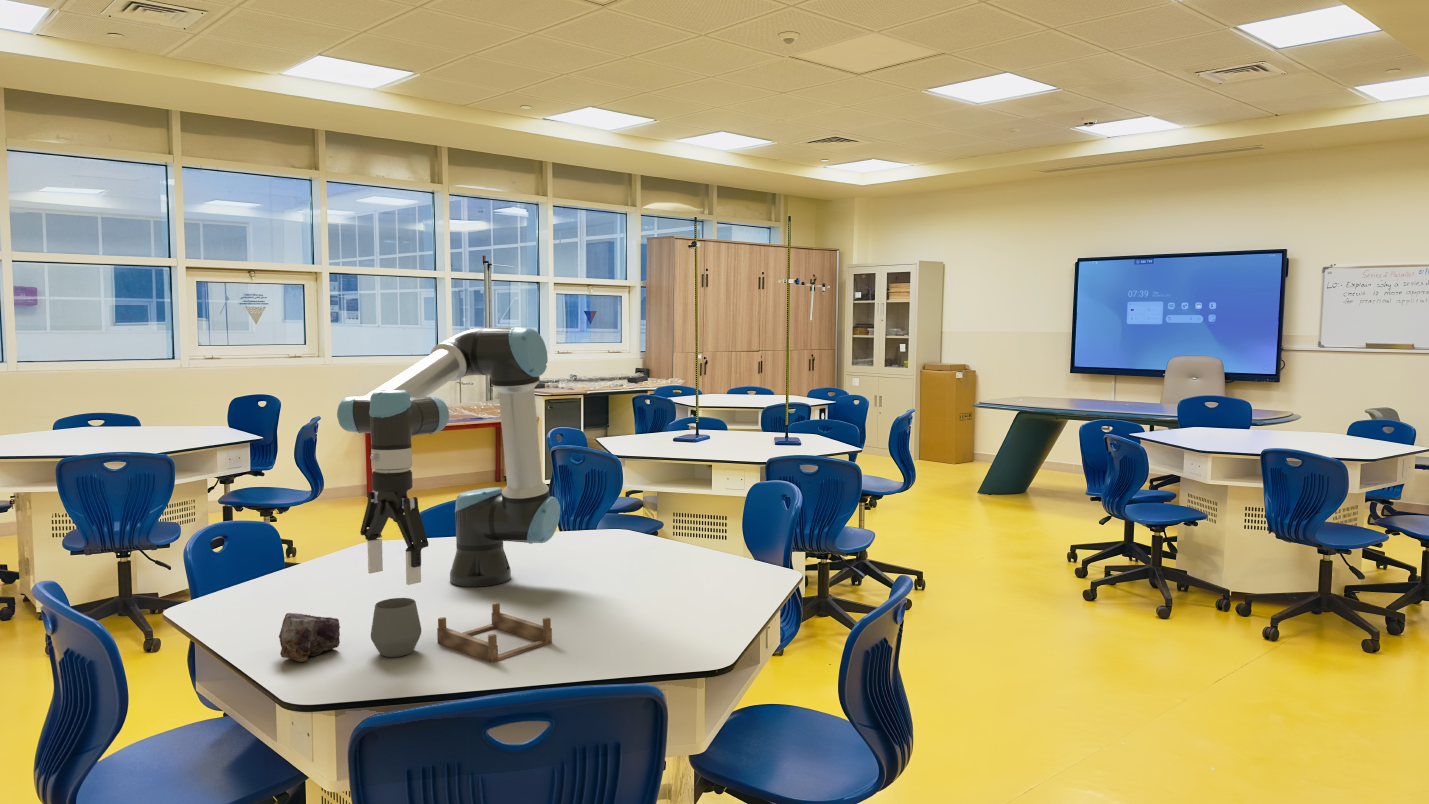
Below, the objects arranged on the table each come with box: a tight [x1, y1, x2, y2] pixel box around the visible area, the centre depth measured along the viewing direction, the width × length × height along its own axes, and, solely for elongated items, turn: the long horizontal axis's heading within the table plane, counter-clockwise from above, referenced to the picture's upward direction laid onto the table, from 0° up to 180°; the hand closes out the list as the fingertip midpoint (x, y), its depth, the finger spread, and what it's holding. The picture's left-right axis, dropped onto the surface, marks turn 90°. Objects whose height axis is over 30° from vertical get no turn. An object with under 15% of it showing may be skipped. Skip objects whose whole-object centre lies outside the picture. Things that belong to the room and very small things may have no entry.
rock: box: [278, 612, 341, 663], centre depth 182 cm, size 12×9×10 cm
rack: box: [436, 602, 553, 663], centre depth 189 cm, size 18×15×5 cm
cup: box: [370, 597, 422, 658], centre depth 183 cm, size 10×9×10 cm
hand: (394, 577), depth 182 cm, fingers open, 13 cm apart
